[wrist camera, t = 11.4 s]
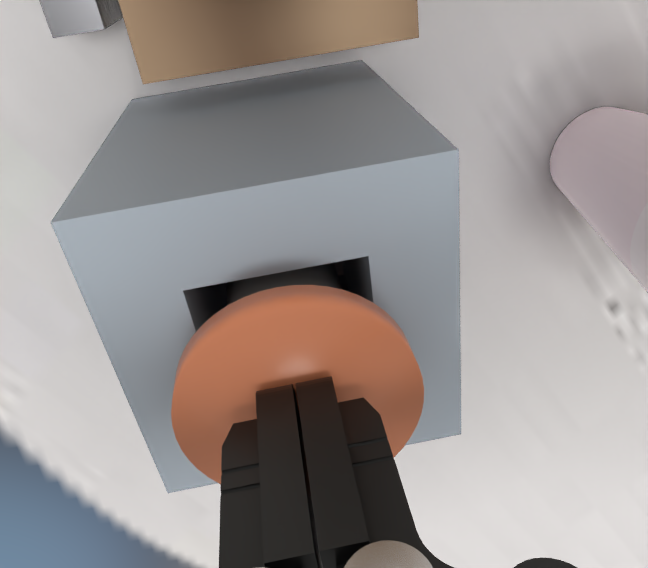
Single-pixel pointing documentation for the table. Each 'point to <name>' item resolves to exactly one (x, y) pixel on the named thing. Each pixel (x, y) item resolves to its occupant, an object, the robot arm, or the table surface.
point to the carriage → (255, 31)
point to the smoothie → (608, 179)
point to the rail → (80, 15)
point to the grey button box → (265, 226)
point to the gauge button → (291, 359)
